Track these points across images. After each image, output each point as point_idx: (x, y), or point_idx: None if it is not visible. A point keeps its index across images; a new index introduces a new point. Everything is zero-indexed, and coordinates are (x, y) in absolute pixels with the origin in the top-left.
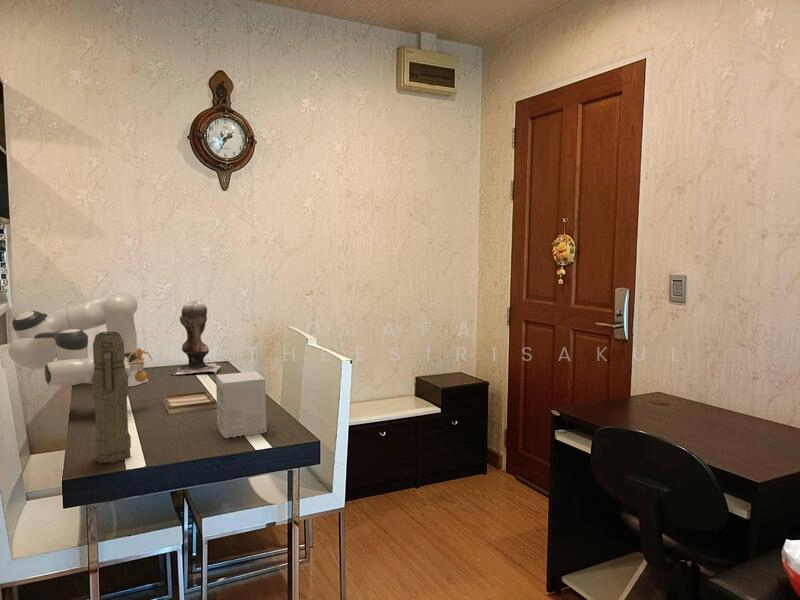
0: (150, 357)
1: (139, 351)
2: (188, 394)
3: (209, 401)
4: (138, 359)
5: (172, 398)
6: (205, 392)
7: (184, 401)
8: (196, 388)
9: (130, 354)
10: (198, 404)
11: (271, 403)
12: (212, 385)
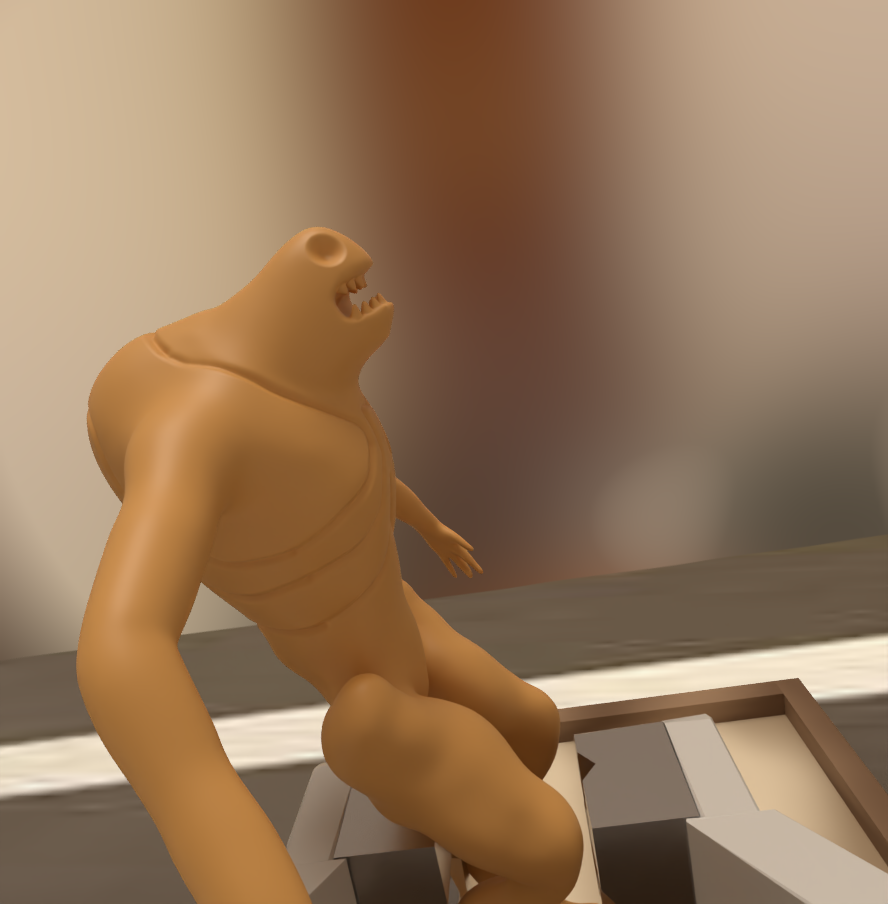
0: (426, 513)
1: (362, 364)
2: None
3: (794, 707)
4: (412, 682)
5: None
6: None
7: None
8: (55, 837)
9: (148, 631)
10: (866, 775)
11: (738, 557)
12: (86, 753)
